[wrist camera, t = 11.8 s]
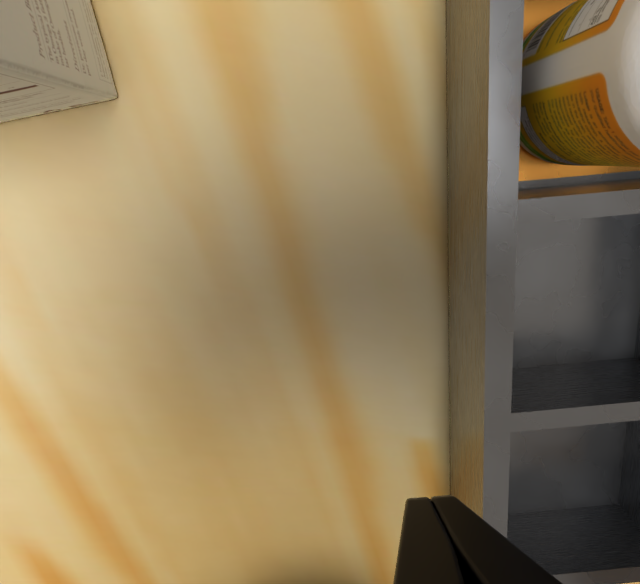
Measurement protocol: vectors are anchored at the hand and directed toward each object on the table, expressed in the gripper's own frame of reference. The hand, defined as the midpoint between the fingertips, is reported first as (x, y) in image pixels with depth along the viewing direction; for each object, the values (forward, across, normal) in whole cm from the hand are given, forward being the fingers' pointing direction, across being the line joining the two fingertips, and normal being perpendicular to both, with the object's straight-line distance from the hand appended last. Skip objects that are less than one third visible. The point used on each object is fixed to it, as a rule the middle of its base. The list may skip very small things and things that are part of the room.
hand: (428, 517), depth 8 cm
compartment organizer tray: (+13, -9, -1) cm, 15 cm away
